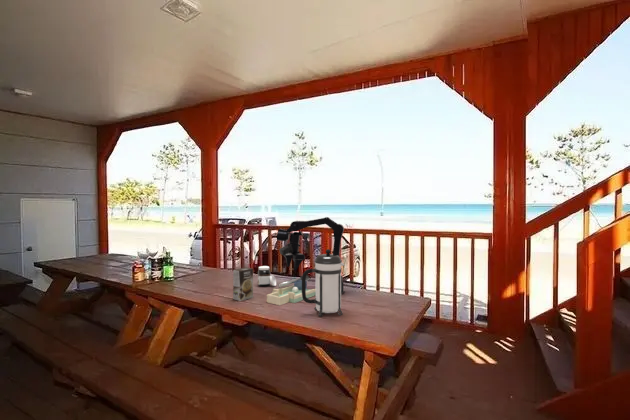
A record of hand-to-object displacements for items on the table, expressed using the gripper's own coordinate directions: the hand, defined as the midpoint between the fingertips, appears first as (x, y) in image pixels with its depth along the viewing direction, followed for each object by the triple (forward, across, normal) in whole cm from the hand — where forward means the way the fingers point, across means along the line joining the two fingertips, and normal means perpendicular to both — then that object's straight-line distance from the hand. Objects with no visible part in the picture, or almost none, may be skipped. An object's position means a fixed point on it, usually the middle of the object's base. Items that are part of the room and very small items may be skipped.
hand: (291, 268), depth 193 cm
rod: (+10, +8, 0) cm, 13 cm away
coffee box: (+16, 0, -28) cm, 32 cm away
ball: (+11, +11, -2) cm, 16 cm away
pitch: (+13, +13, -6) cm, 19 cm away
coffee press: (+11, +44, -4) cm, 46 cm away
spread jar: (+15, -19, -6) cm, 25 cm away
